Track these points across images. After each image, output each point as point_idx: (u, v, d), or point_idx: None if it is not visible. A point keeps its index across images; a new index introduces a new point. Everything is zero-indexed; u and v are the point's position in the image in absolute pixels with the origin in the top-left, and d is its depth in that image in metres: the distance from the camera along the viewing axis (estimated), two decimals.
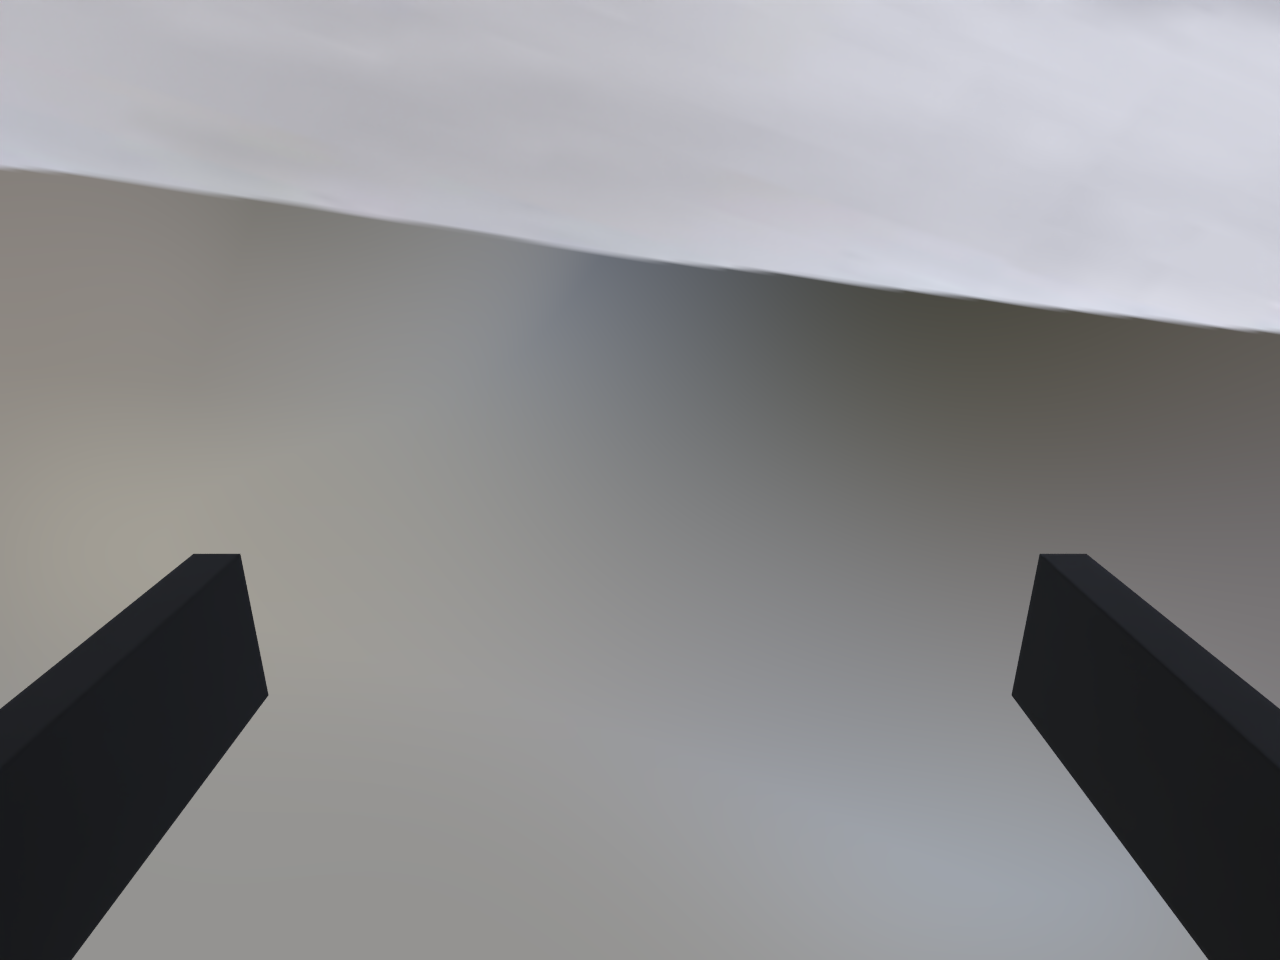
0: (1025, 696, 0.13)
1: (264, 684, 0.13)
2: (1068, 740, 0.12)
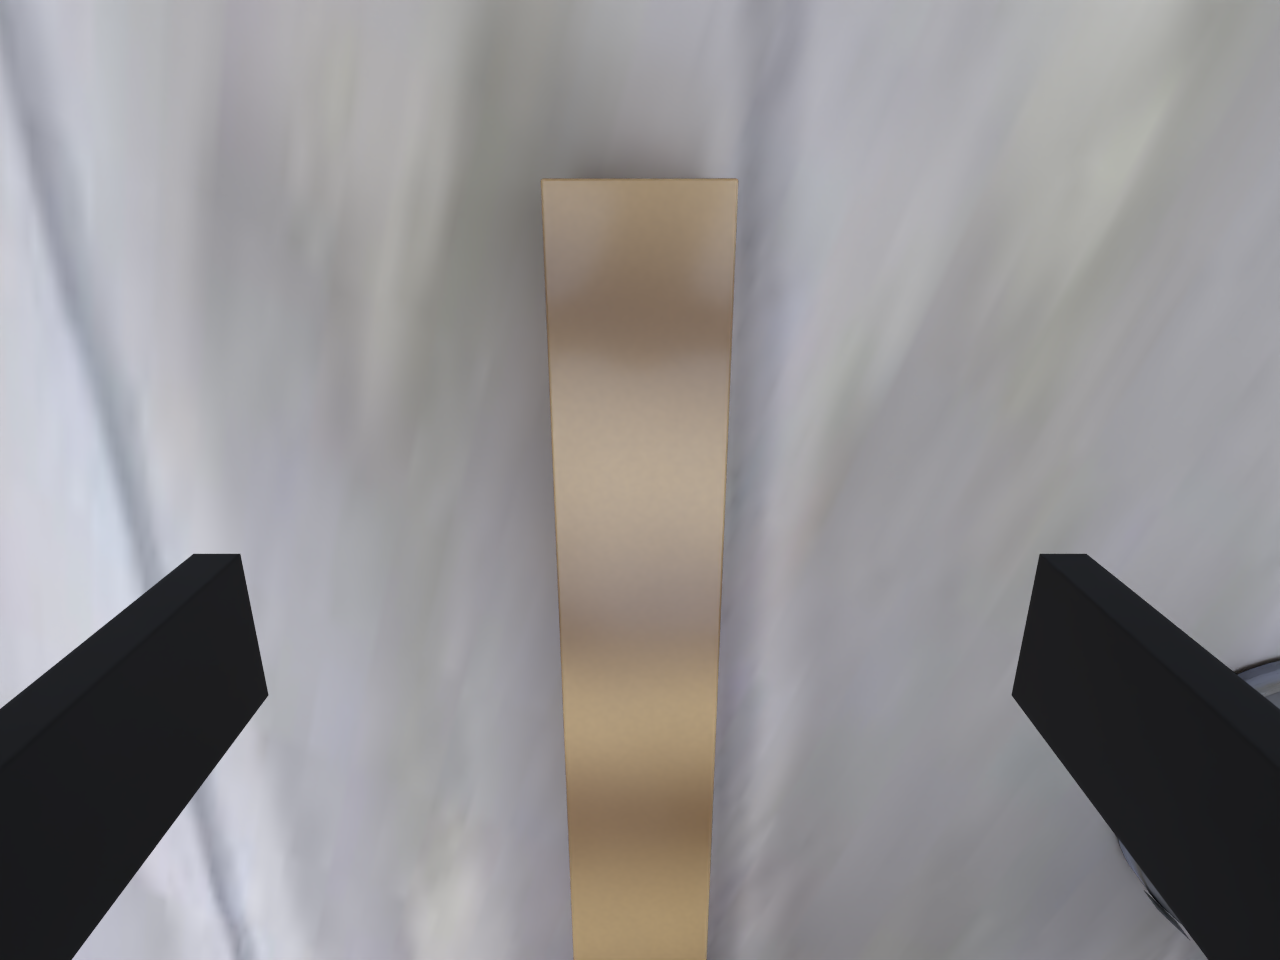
0: (1025, 696, 0.13)
1: (264, 684, 0.13)
2: (1068, 740, 0.12)
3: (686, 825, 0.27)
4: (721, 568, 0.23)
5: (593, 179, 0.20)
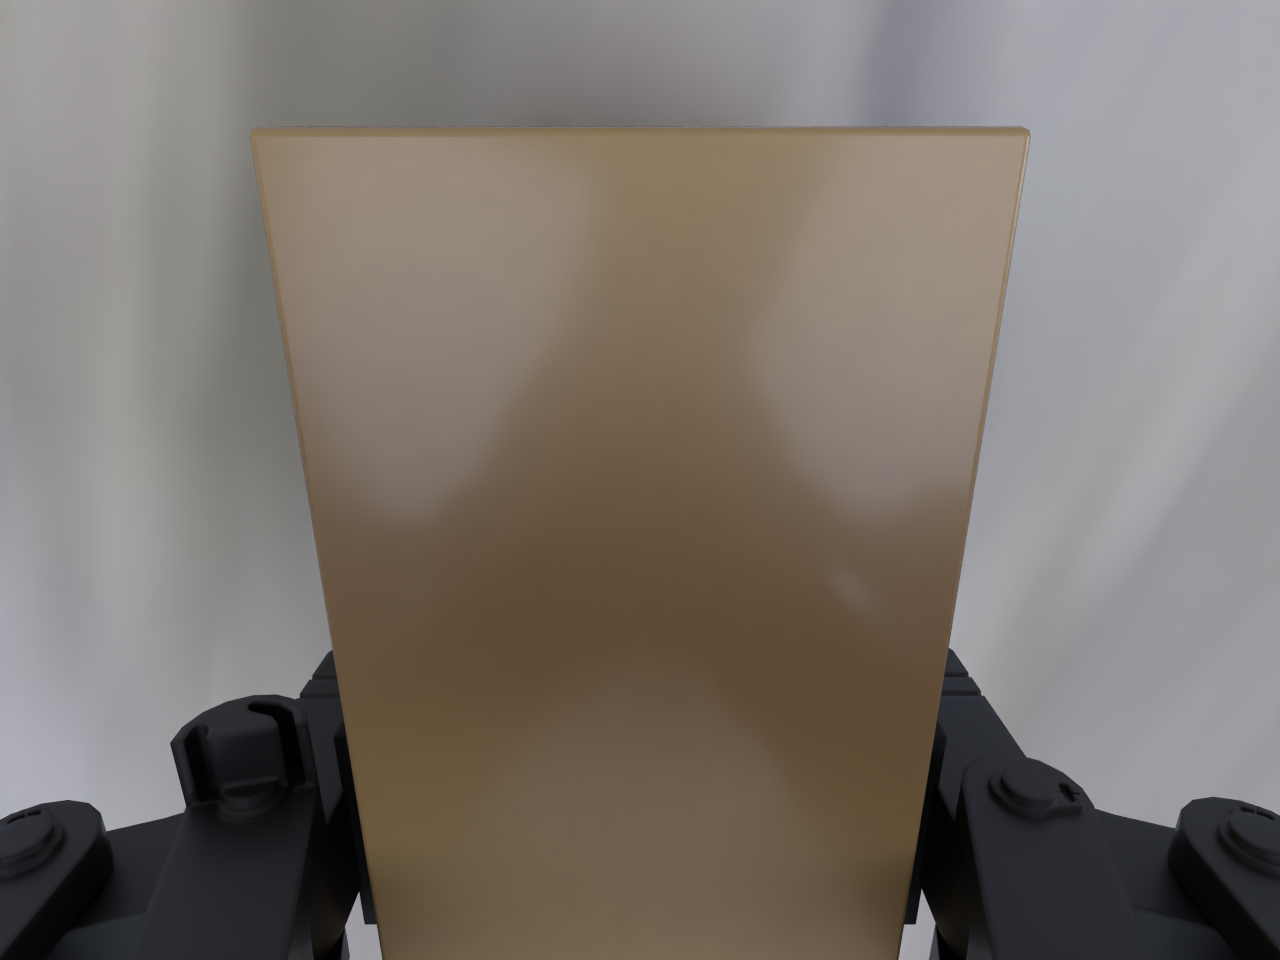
0: None
1: None
2: None
3: None
4: None
5: (456, 130, 0.05)
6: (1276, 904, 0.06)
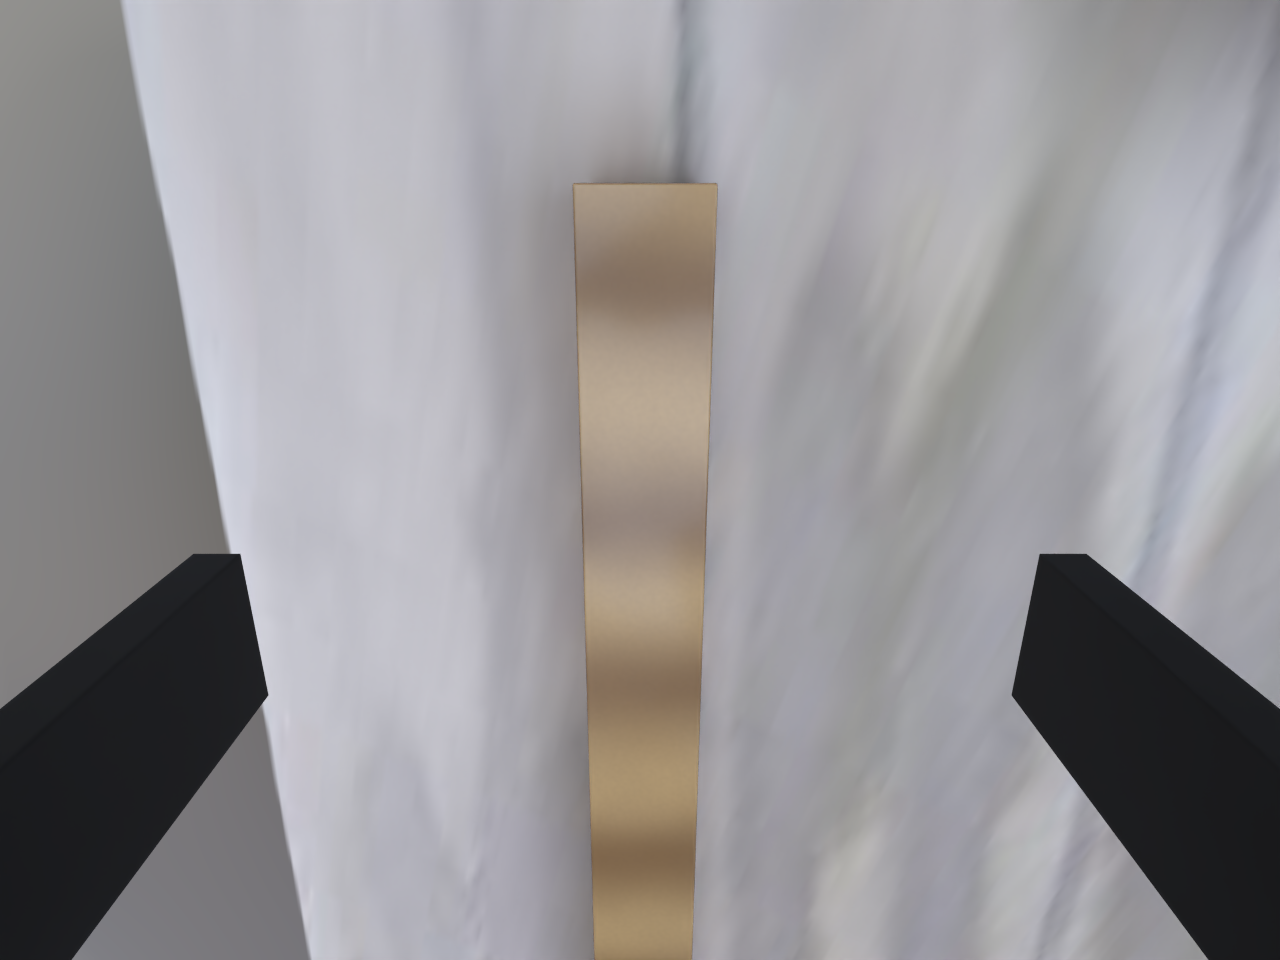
0: (1025, 696, 0.13)
1: (264, 684, 0.13)
2: (1068, 740, 0.12)
3: (680, 693, 0.34)
4: (706, 481, 0.31)
5: (611, 183, 0.27)
6: None
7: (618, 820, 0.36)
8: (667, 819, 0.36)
